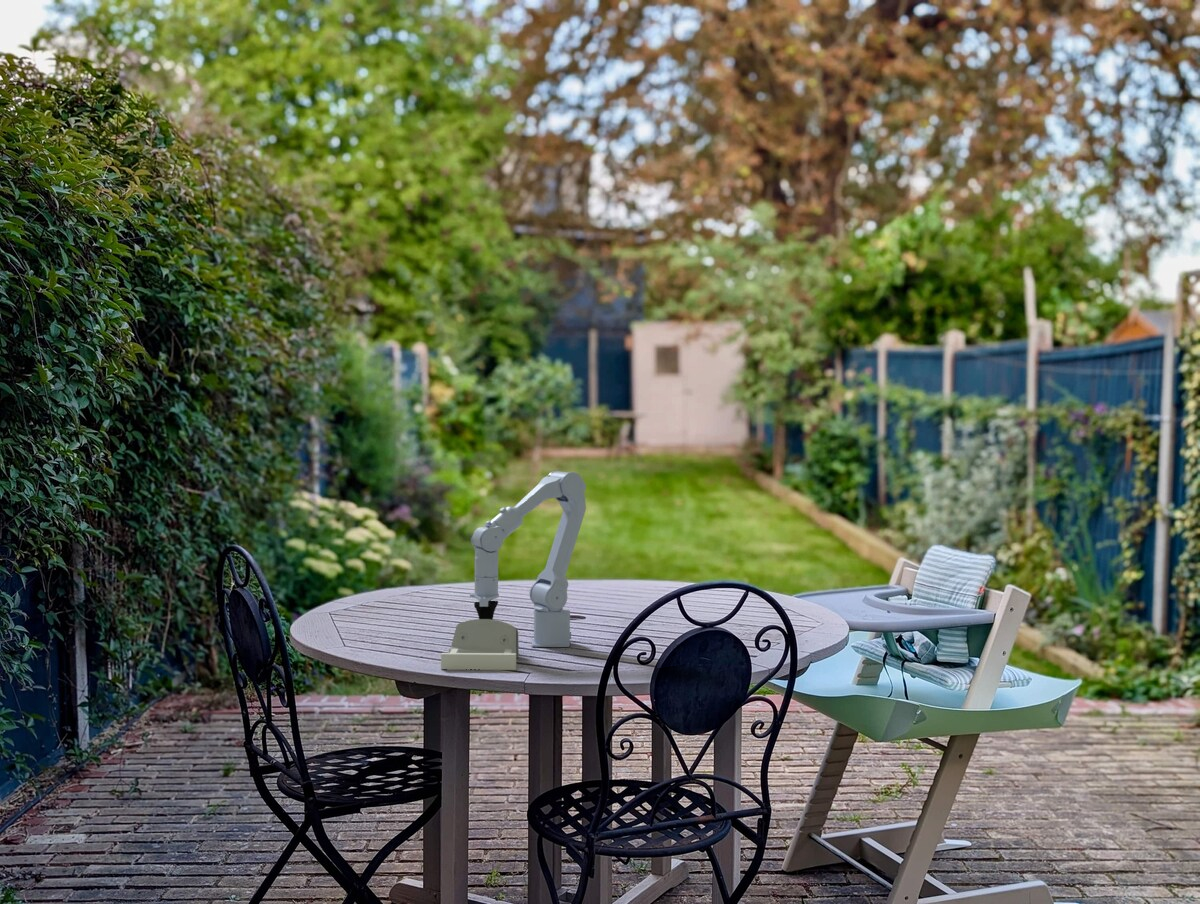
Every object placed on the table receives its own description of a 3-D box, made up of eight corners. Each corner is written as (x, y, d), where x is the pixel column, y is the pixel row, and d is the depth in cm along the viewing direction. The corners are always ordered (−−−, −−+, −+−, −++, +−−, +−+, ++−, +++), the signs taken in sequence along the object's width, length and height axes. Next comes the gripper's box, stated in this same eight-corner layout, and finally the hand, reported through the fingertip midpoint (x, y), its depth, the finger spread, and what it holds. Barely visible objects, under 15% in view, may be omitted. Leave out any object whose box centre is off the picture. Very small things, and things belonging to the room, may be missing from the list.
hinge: (446, 657, 270) (452, 615, 273) (453, 660, 274) (458, 619, 277) (512, 661, 265) (517, 619, 268) (518, 664, 270) (523, 622, 273)
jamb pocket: (517, 661, 265) (517, 647, 265) (515, 670, 257) (515, 654, 256) (445, 661, 265) (445, 646, 265) (440, 669, 256) (441, 654, 256)
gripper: (472, 571, 283) (472, 625, 284) (467, 580, 269) (466, 636, 269) (500, 572, 284) (500, 625, 284) (496, 580, 269) (496, 637, 270)
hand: (486, 631), depth 277 cm, fingers closed
